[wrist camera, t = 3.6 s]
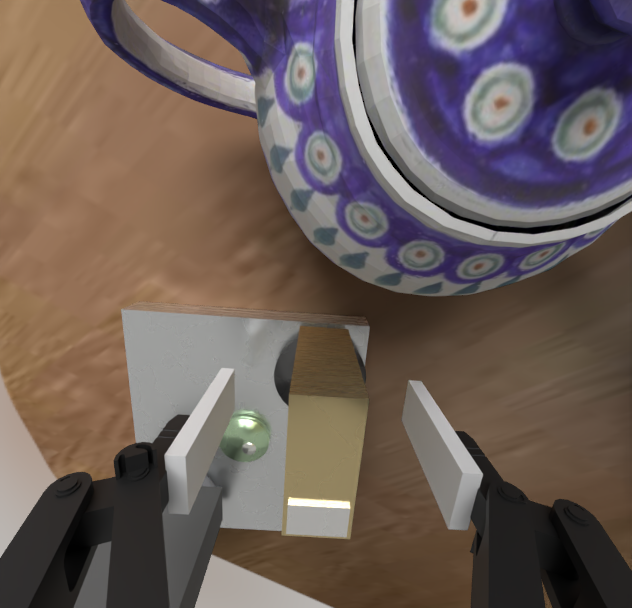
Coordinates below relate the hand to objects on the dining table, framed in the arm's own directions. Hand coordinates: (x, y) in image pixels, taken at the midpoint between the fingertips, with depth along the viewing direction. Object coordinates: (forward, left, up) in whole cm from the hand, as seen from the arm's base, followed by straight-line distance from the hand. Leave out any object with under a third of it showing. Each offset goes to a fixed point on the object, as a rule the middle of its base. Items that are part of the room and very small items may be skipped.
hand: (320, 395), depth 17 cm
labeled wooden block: (0, 0, -3) cm, 3 cm away
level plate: (+5, -5, -5) cm, 9 cm away
